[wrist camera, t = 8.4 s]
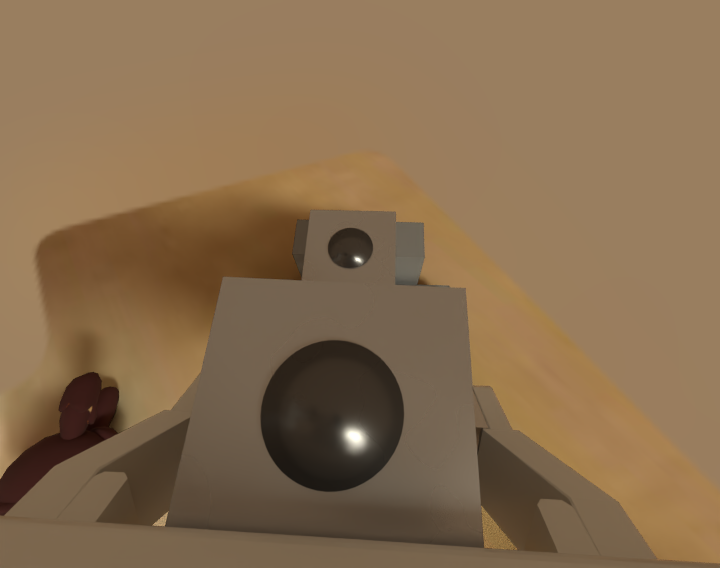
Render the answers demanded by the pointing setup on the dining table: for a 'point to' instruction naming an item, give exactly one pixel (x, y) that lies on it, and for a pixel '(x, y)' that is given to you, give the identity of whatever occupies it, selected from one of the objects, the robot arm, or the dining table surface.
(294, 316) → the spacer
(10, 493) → the icecream
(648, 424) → the dining table surface
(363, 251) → the post
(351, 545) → the robot arm
